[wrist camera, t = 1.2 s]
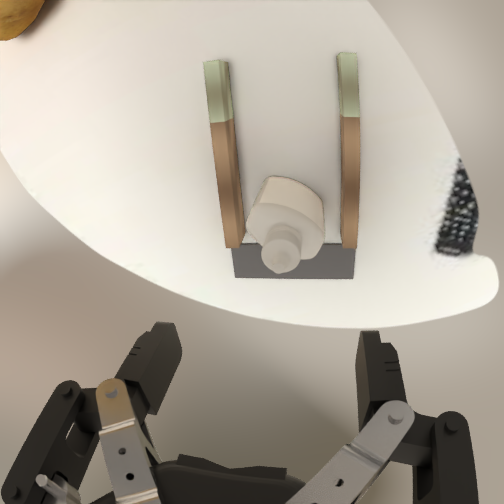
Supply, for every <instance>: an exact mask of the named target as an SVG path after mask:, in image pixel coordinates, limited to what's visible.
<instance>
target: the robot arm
mask: <svg viewBox="0 0 504 504" xmlns="http://www.w3.org/2000/svg"><path fill="white" fill-rule="evenodd" d="M181 357H182V347H181V344H180V340H179V337H178V334H177V331H176V327H175V325H174V323H169V322H156V323H155V325H154V326H153V328H152V330H151V331H150V332H147V331H146V332H145V333H144V334H143V335H142V336H140V337H139V338H138V339H137V341H136V342H135V344H134V346H133V348H132V349H131V351H130V352H129V355H128V356H127V357H126V359H125V360H124V362H123V364H122V365H121V367H120V369H119V371H118V372H117V374H116V376H115V377H114V378H111V379H107V380H105V381H103V382H102V383H101V384H100V385H99V386H98V387H97V388H85V389H81V387H80V386H79V384H78V383H77V382H75V381H72V380H69V381H64V382H62V383H61V384H59V385H58V386H57V387H56V389H55V390H54V392H53V394H52V395H51V397H50V399H49V400H48V402H47V404H46V405H45V407H44V409H43V411H42V412H41V414H40V416H39V418H38V419H37V421H36V423H35V424H34V426H33V428H32V430H31V432H30V433H29V435H28V437H27V439H26V441H25V443H24V444H23V446H22V448H21V450H20V452H19V454H18V456H17V458H16V460H15V462H14V464H13V466H12V467H11V470H10V471H9V473H8V476H7V478H6V480H5V482H4V484H3V486H2V489H1V496H2V499H3V501H4V502H5V504H81V497H80V494H79V492H78V489H79V487H80V484H81V482H82V480H83V477H84V475H85V472H86V470H87V468H88V465H89V463H90V461H91V458H92V456H93V454H94V451H95V449H96V447H97V444H98V442H99V440H100V441H101V446H102V450H103V454H104V458H105V462H106V466H107V470H108V474H109V477H110V481H111V484H112V488H113V491H111V492H110V493H108V494H106V495H104V496H103V497H101V498H99V499H97V500H95V501H94V502H92V503H90V504H357V503H358V501H359V500H360V499H361V498H362V496H363V495H364V494H365V493H366V491H367V490H368V489H369V488H370V486H371V485H372V484H373V483H374V482H375V480H376V479H377V478H378V477H379V475H380V474H381V473H382V471H383V470H384V469H385V468H386V466H387V465H388V463H389V462H390V461H394V462H399V463H404V464H409V465H412V467H413V504H479V501H478V489H477V479H476V471H475V463H474V456H473V450H472V443H471V437H470V432H469V426H468V423H467V420H466V419H465V417H464V416H463V415H461V414H460V413H458V412H454V411H448V412H444V413H442V414H441V415H440V416H438V418H435V417H430V416H425V415H421V414H418V413H416V412H415V411H414V410H413V409H412V408H411V406H409V405H408V403H407V400H406V395H405V389H404V384H403V380H402V374H401V369H400V364H399V359H398V354H397V351H396V350H395V348H394V347H393V346H392V344H391V343H381V340H380V334H379V331H361V332H360V337H359V343H358V349H357V354H356V364H355V369H356V383H357V400H358V420H359V434H358V435H357V437H356V438H355V439H354V440H353V441H352V442H351V443H350V444H346V445H345V446H344V447H343V448H341V449H340V451H339V452H338V453H337V454H336V455H335V456H334V457H333V458H332V459H331V460H330V461H329V462H328V463H327V464H326V465H325V466H324V467H323V468H322V469H321V470H320V471H319V472H318V473H317V474H316V476H314V477H313V478H312V479H311V480H310V481H309V482H308V483H307V484H306V483H305V482H303V481H301V480H300V479H298V478H295V477H293V476H290V475H287V472H286V471H287V468H276V467H264V466H255V467H245V468H234V469H229V468H226V467H223V466H221V465H218V464H216V463H213V462H211V461H209V460H206V459H204V458H198V457H193V456H187V455H183V454H179V457H178V459H177V460H174V461H167V462H162V460H161V458H160V457H159V455H158V452H157V450H156V447H155V445H154V442H153V439H152V437H151V434H150V431H149V428H148V426H147V423H146V420H145V417H146V415H147V413H148V414H153V415H157V412H158V410H159V408H160V406H161V403H162V401H163V399H164V397H165V394H166V392H167V390H168V387H169V385H170V383H171V381H172V378H173V376H174V373H175V372H176V369H177V367H178V365H179V363H180V361H181ZM73 423H74V425H73V427H72V429H71V431H70V433H69V435H68V437H67V439H66V436H67V433H68V431H69V430H70V428H71V426H72V424H73Z"/></svg>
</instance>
